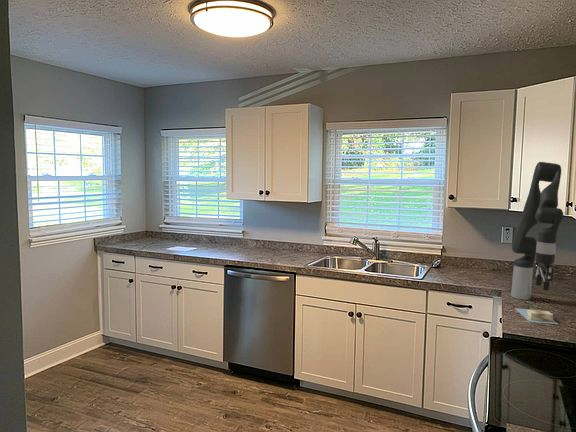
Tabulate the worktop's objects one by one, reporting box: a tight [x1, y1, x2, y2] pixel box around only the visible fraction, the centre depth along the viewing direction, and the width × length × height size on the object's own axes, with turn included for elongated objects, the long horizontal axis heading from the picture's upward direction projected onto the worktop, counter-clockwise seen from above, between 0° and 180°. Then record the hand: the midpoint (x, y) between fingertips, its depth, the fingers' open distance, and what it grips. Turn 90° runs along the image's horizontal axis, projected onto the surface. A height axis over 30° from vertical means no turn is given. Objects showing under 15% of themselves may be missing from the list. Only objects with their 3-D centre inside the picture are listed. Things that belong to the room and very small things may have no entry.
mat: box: [514, 307, 559, 325], centre depth 205 cm, size 20×12×1 cm, turn 170°
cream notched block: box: [527, 309, 554, 322], centre depth 200 cm, size 9×5×3 cm, turn 80°
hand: (541, 287), depth 198 cm, fingers open, 8 cm apart
